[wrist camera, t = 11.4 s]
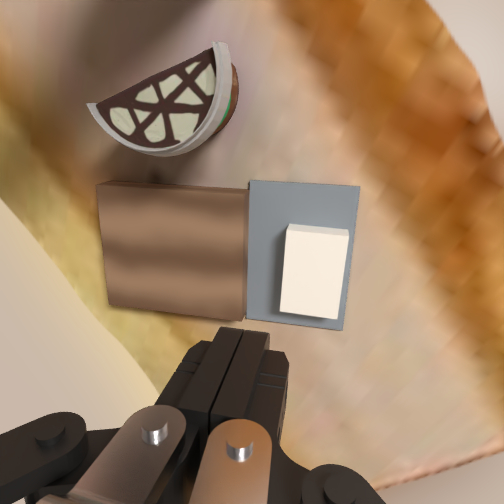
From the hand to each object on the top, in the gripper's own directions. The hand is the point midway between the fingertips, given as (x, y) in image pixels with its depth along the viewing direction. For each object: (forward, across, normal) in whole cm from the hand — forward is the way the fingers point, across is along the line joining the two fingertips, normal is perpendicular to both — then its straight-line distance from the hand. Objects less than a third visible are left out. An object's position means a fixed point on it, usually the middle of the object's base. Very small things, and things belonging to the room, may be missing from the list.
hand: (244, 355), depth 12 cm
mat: (+29, 0, +7) cm, 30 cm away
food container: (+29, +11, -7) cm, 32 cm away
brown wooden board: (+29, +14, +7) cm, 33 cm away
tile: (+27, -2, +8) cm, 28 cm away
